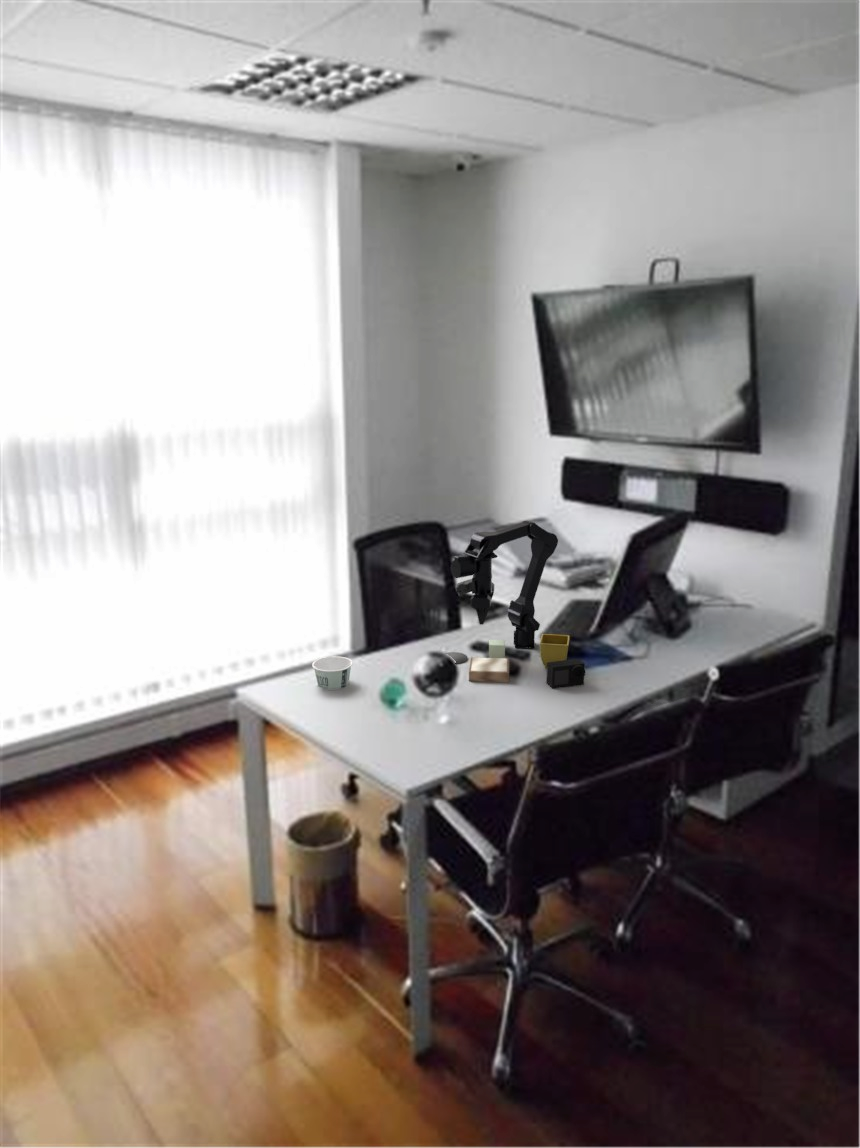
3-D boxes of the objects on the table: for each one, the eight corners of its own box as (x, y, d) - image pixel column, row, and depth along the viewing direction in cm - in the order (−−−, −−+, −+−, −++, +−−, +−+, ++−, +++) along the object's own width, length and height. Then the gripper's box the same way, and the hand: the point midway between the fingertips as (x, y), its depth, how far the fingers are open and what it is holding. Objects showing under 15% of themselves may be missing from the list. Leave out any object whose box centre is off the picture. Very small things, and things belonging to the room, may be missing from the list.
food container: (361, 680, 267) (360, 660, 265) (337, 694, 257) (336, 673, 255) (329, 673, 272) (328, 653, 271) (305, 686, 263) (303, 666, 261)
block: (504, 657, 284) (505, 640, 282) (504, 663, 279) (504, 645, 278) (489, 657, 284) (489, 639, 283) (488, 662, 280) (488, 645, 278)
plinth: (509, 667, 276) (509, 657, 275) (508, 682, 264) (509, 672, 263) (470, 666, 277) (470, 656, 276) (468, 681, 265) (468, 671, 264)
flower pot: (567, 672, 271) (568, 644, 269) (538, 670, 273) (539, 643, 270) (568, 662, 280) (569, 635, 277) (541, 660, 281) (541, 633, 279)
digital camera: (553, 690, 258) (554, 668, 256) (546, 683, 263) (546, 661, 261) (585, 686, 260) (586, 664, 259) (578, 679, 266) (578, 658, 264)
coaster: (468, 654, 287) (468, 652, 287) (466, 664, 278) (466, 662, 278) (440, 653, 288) (440, 651, 288) (438, 663, 279) (438, 661, 279)
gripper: (460, 564, 288) (461, 609, 292) (453, 580, 270) (454, 628, 275) (494, 565, 286) (494, 610, 291) (489, 581, 269) (490, 629, 273)
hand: (482, 619), depth 282 cm, fingers open, 9 cm apart
